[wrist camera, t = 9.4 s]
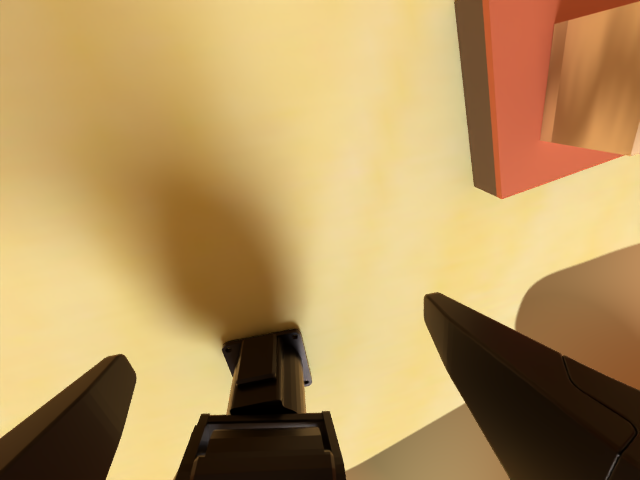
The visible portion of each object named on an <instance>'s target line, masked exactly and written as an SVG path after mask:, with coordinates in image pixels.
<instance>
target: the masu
mask: <svg viewBox="0 0 640 480" xmlns="http://www.w3.org/2000/svg"><path fill="white" fill-rule="evenodd" d="M540 141H546V142H551V143H557V144H563V145H569V146H575V147H581V148H587V149H592V150H598V151H604V152H610V153H616V154H622V155H627V156H633V155H637V154H640V1H639V2H635V3H631V4H628V5H624V6H620V7H616V8H613V9H609V10H605V11H601V12H598V13H594V14H590V15H587V16H583V17H579V18H575V19H572V20H568V21H564V22H560V23H557V24H554V32H553V40H552V48H551V56H550V64H549V72H548V80H547V88H546V96H545V104H544V113H543V121H542V129H541V137H540Z"/></svg>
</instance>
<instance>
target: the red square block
mask: <svg viewBox="0 0 640 480" xmlns="http://www.w3.org/2000/svg"><path fill="white" fill-rule="evenodd" d="M639 1H640V0H458V1H456V2H454V4H455V13H456V22H457V32H458V41H459V50H460V60H461V69H462V78H463V88H464V97H465V106H466V115H467V125H468V134H469V143H470V153H471V162H472V171H473V181H474V186H475V187H477V188H479V189H481V190H483V191H486V192H488V193H490V194H492V195H494V196H496V197H499V198H501V199H504V198H506V197H509V196H512V195H515V194H518V193H520V192H523V191H526V190H529V189H532V188H534V187H537V186H540V185H543V184H546V183H548V182H551V181H554V180H557V179H560V178H562V177H565V176H568V175H571V174H574V173H576V172H579V171H582V170H585V169H588V168H590V167H593V166H596V165H599V164H602V163H604V162H607V161H610V160H613V159H616V158H618V157H621V156H624V155H622V154H616V153H610V152H604V151H598V150H592V149H587V148H581V147H575V146H569V145H563V144H557V143H551V142H546V141H540V137H541V129H542V121H543V113H544V104H545V96H546V88H547V80H548V72H549V64H550V56H551V48H552V40H553V32H554V24H557V23H560V22H564V21H568V20H572V19H575V18H579V17H583V16H587V15H590V14H594V13H598V12H601V11H605V10H609V9H613V8H616V7H620V6H624V5H628V4H631V3H635V2H639Z"/></svg>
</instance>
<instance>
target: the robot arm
mask: <svg viewBox="0 0 640 480" xmlns="http://www.w3.org/2000/svg"><path fill="white" fill-rule="evenodd" d="M424 320H425V323H426V326H427V328H428V330H429V332H430V335H431V337H432V339H433V341H434V344H435V346H436V348H437V350H438V353H439V355H440V357H441V359H442V361H443V364H444V366H445V368H446V370H447V372H448V374H449V375H450V377H451V379H452V381H453V382H454V384H455V386H456V387H457V389H458V391H459V393H460V394H461V396H462V398H463V399H464V401H465V403H466V404H467V406H468V408H469V410H470V411H471V413H472V415H473V416H474V418H475V420H476V422H477V423H478V425H479V427H480V428H481V430H482V432H483V434H484V435H485V437H486V439H487V441H488V442H489V444H490V446H491V447H492V449H493V451H494V452H495V454H496V456H497V457H498V459H499V461H500V463H501V464H502V466H503V468H504V470H505V471H506V473H507V475H508V476H509V478H510V480H640V390H637V389H635V388H633V387H631V386H628V385H626V384H624V383H622V382H619V381H617V380H615V379H613V378H610V377H608V376H606V375H604V374H602V373H600V372H598V371H596V370H594V369H592V368H589V367H587V366H585V365H583V364H581V363H579V362H577V361H575V360H573V359H571V358H569V357H567V356H565V355H563V356H562V355H561V353H559V352H557V351H555V350H553V349H551V348H549V347H547V346H545V345H543V344H541V343H539V342H537V341H535V340H533V339H531V338H529V337H527V336H525V335H523V334H521V333H519V332H517V331H515V330H513V329H511V328H509V327H507V326H505V325H503V324H501V323H499V322H497V321H495V320H493V319H491V318H489V317H487V316H485V315H483V314H481V313H479V312H477V311H475V310H473V309H471V308H469V307H467V306H465V305H463V304H461V303H459V302H457V301H455V300H453V299H451V298H449V297H447V296H445V295H443V294H441V293H438V292H436V293H430V294H426V295H425V296H424ZM293 335H296V336H293ZM228 348H231V349H228ZM222 352H223V354H224V357H225V359H226V362H227V364H228V367H229V369H230V371H231V374H232V376H233V381H232V386H231V392H230V397H229V403H228V408H227V414H226V415H210V414H201V416H200V419H199V421H198V424H197V425H195V427H194V430H193V432H192V434H191V437H190V440H189V443H188V446H187V448H186V451H185V453H184V456H183V459H182V461H181V464H180V467H179V469H178V472H177V473H176V475H175V477H174V479H173V480H346V475H345V468H344V463H343V458H342V455H341V451H340V447H339V444H338V440H337V436H336V433H335V429H334V425H333V422H332V418H331V414H330V411H322V413H306V405H305V391H304V387H306V386H309V385H311V383H312V378H311V373H310V369H309V365H308V361H307V357H306V352H305V348H304V344H303V340H302V336H301V332H300V331H299V330H298V329H292V330H286V331H281V332H276V333H271V334H266V335H261V336H256V337H251V338H246V339H240V340H235V341H230V342H226V343H225V344H224V345H223V348H222ZM306 380H307V381H306ZM135 384H136V373H135V371H134V369H133V368H132V366H131V364H130V363H129V361H128V360H127V358H126V357H125V356H124V355H123V354H118V355H113V356H108V357H106V358H104V359H103V360H102V361H101V362H99V363H98V364H97V365H95V366H94V367H93V368H91V369H90V370H89V371H88V372H86V373H85V374H84V375H82V376H81V377H80V378H78V379H77V380H76V381H74V382H73V383H72V384H71V385H69V386H68V387H67V388H65V389H64V390H63V391H61V392H60V393H59V394H58V395H56V396H55V397H54V398H52V399H51V400H50V401H48V402H47V403H46V404H45V405H43V406H42V407H41V408H39V409H38V410H37V411H35V412H34V413H33V414H32V415H30V416H29V417H28V418H26V419H25V420H24V421H22V422H21V423H20V424H19V425H17V426H16V427H15V428H13V429H12V430H11V431H9V432H8V433H7V434H5V435H4V436H3V437H2V438H0V480H106V477H107V474H108V472H109V469H110V466H111V464H112V461H113V458H114V455H115V453H116V450H117V447H118V444H119V441H120V439H121V436H122V432H123V429H124V425H125V422H126V418H127V414H128V410H129V406H130V403H131V399H132V395H133V391H134V388H135Z"/></svg>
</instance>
